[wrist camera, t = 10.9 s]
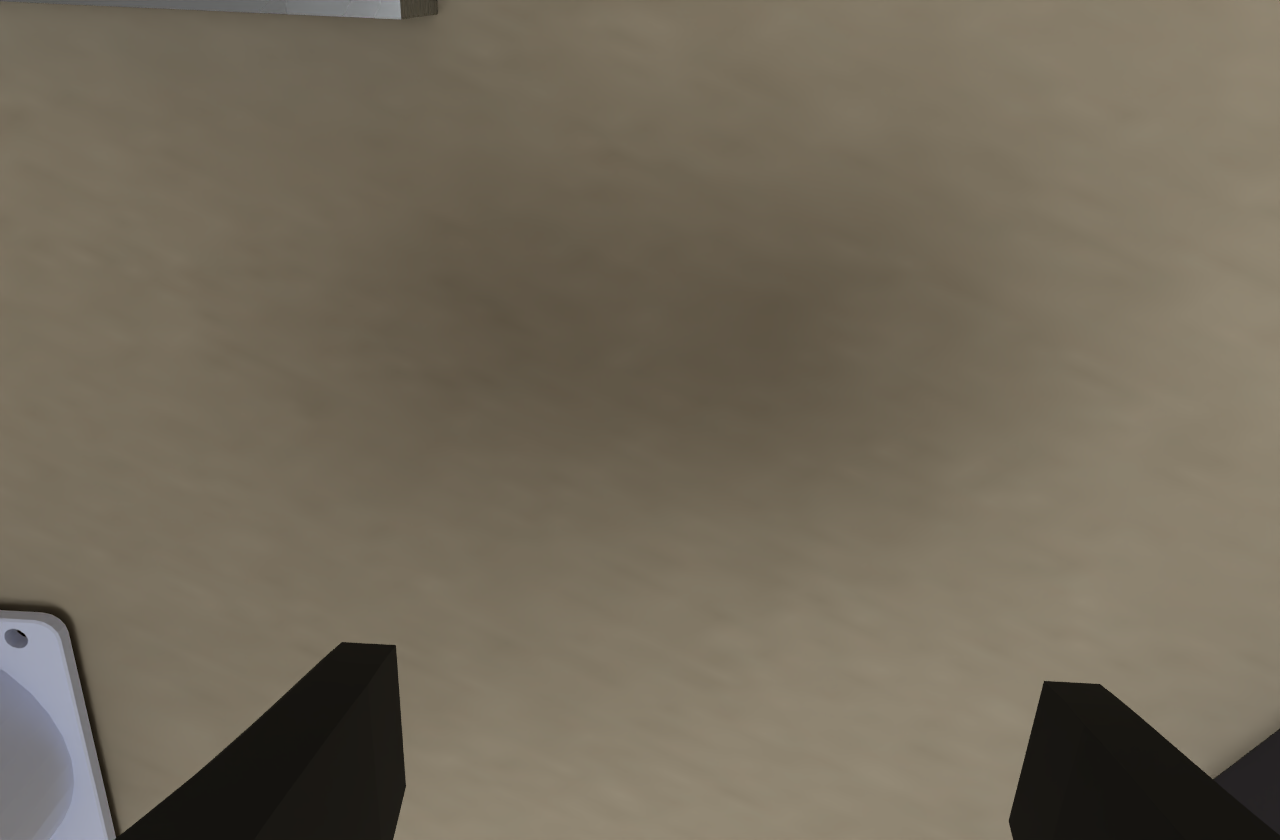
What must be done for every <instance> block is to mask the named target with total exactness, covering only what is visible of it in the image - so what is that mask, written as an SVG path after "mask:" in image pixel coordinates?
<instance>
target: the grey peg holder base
mask: <svg viewBox="0 0 1280 840" xmlns="http://www.w3.org/2000/svg"><path fill="white" fill-rule="evenodd" d="M0 1H8V2H30V3H52V4H74V5H96V6H119V7H141V8H163V9H185V10H207V11H229V12H251V13H273V14H295V15H317V16H339V17H361V18H383V19H407V18H414V17H421V16H428V15H435V14H437V0H0Z"/></svg>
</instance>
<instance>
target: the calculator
mask: <svg viewBox="0 0 1280 840" xmlns="http://www.w3.org/2000/svg"><path fill="white" fill-rule="evenodd" d="M1213 780H1214V781H1215V782H1216V783H1218V784H1219V785H1220V786H1221V787H1222V788H1223V789H1225V790H1226V791H1227V792H1228V793H1229V794H1231V795H1232V796H1233V797H1234V798H1235V799H1237V800H1238V801H1239V802H1240V803H1241V804H1243V805H1244V806H1245V807H1246V808H1247V809H1248V810H1250V811H1251V812H1252V813H1253V814H1254V815H1256V816H1257V817H1258V818H1259V819H1261V820H1262V821H1263V822H1264V823H1265V824H1267V825H1268V826H1269V827H1270V828H1271V829H1273V830H1274V831H1275V832H1276V833H1278V834H1279V835H1280V729H1279V730H1278V731H1276V732H1275V733H1274V734H1272V735H1271V736H1270V737H1268V738H1267V739H1266V740H1264V741H1263V742H1262V743H1260V744H1259V745H1258V746H1257V747H1255V748H1254V749H1253V750H1251V751H1250V752H1249V753H1247V754H1246V755H1245V756H1243V757H1242V758H1241V759H1239V760H1238V761H1237V762H1236V763H1234V764H1233V765H1232V766H1230V767H1229V768H1228V769H1226V770H1225V771H1224V772H1222V773H1221V774H1220V775H1218V776H1217V777H1216V778H1214V779H1213Z"/></svg>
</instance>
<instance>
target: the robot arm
mask: <svg viewBox="0 0 1280 840" xmlns="http://www.w3.org/2000/svg"><path fill="white" fill-rule="evenodd" d="M17 630H20V631H21V632H23V633H24V634H25V635H26V637H24V636H22V635H21V634H19V633H18V632H17ZM405 788H406V781H405V767H404V753H403V739H402V725H401V711H400V697H399V683H398V669H397V655H396V645H383V644H364V643H346V642H342V643H340V644H339V645H338V646H337V647H336V648H335V649H333V650H332V651H331V652H330V653H329V654H328V655H327V656H326V657H325V658H323V659H322V660H321V661H320V662H319V663H318V664H317V665H316V666H315V667H314V668H313V669H311V670H310V671H309V672H308V673H307V674H306V675H305V676H304V677H303V678H302V679H301V680H300V681H299V682H298V683H296V684H295V685H294V686H293V687H292V688H291V689H290V690H289V691H288V692H287V693H286V694H285V695H284V696H283V697H281V698H280V699H279V700H278V701H277V702H276V703H275V704H274V705H273V706H272V707H271V708H270V709H268V710H267V711H266V712H265V713H264V714H263V715H262V716H261V717H260V718H259V719H258V720H257V721H255V722H254V723H253V724H252V725H251V726H250V727H249V728H248V729H246V730H245V731H244V732H243V733H242V734H241V735H240V736H239V737H237V738H236V739H235V740H234V741H233V742H232V743H231V744H230V745H228V746H227V747H226V748H225V749H224V750H223V751H222V752H220V753H219V754H218V755H217V756H216V757H215V758H214V759H213V760H211V761H210V762H209V763H208V764H207V765H206V766H205V767H203V768H202V769H201V770H200V771H199V772H198V773H196V774H195V775H194V776H193V777H192V778H191V779H189V780H188V781H187V782H186V783H184V784H183V785H182V786H181V787H179V788H178V789H177V790H176V791H174V792H173V793H172V794H171V795H170V796H168V797H167V798H166V799H165V800H163V801H162V802H161V803H160V804H158V805H157V806H156V807H155V808H153V809H152V810H151V811H150V812H149V813H147V814H146V815H145V816H144V817H142V818H141V819H140V820H139V821H137V822H136V823H135V824H134V825H132V826H131V827H130V828H129V829H127V830H126V831H125V832H124V833H122V834H121V835H120V836H118V837H117V838H116V836H115V831H114V827H113V823H112V818H111V814H110V810H109V805H108V801H107V797H106V792H105V788H104V784H103V779H102V775H101V771H100V766H99V762H98V758H97V753H96V749H95V745H94V740H93V736H92V732H91V727H90V723H89V719H88V714H87V710H86V706H85V701H84V697H83V693H82V688H81V684H80V680H79V675H78V671H77V667H76V662H75V658H74V654H73V649H72V645H71V641H70V636H69V632H68V630H67V628H66V625H65V624H64V623H63V622H62V621H61V620H60V619H59V618H57V617H55V616H54V615H52V614H47V613H43V612H25V611H7V610H0V840H393V838H394V834H395V829H396V825H397V821H398V817H399V813H400V809H401V804H402V800H403V796H404V792H405ZM1009 824H1010V828H1011V832H1012V836H1013V840H1280V835H1279V834H1278V833H1276V832H1275V831H1274V830H1273V829H1271V828H1270V827H1269V826H1268V825H1267V824H1265V823H1264V822H1263V821H1262V820H1261V819H1259V818H1258V817H1257V816H1256V815H1254V814H1253V813H1252V812H1251V811H1250V810H1248V809H1247V808H1246V807H1245V806H1244V805H1243V804H1241V803H1240V802H1239V801H1238V800H1237V799H1235V798H1234V797H1233V796H1232V795H1231V794H1229V793H1228V792H1227V791H1226V790H1225V789H1223V788H1222V787H1221V786H1220V785H1219V784H1218V783H1216V782H1215V781H1214V780H1213V779H1212V778H1211V777H1209V776H1208V775H1207V774H1206V773H1205V772H1204V771H1202V770H1201V769H1200V768H1199V767H1198V766H1197V765H1195V764H1194V763H1193V762H1192V761H1191V760H1190V759H1188V758H1187V757H1186V756H1185V755H1184V754H1183V753H1181V752H1180V751H1179V750H1178V749H1177V748H1176V747H1175V746H1173V745H1172V744H1171V743H1170V742H1169V741H1168V740H1166V739H1165V738H1164V737H1163V736H1162V735H1161V734H1159V733H1158V732H1157V731H1156V730H1155V729H1154V728H1152V727H1151V726H1150V725H1149V724H1148V723H1147V722H1145V721H1144V720H1143V719H1142V718H1141V717H1140V716H1138V715H1137V714H1136V713H1135V712H1134V711H1133V710H1131V709H1130V708H1129V707H1128V706H1127V705H1125V704H1124V703H1123V702H1122V701H1121V700H1119V699H1118V698H1117V697H1116V696H1114V695H1113V694H1112V693H1111V692H1109V691H1108V690H1107V689H1105V688H1104V687H1103V686H1102V685H1100V684H1088V683H1070V682H1052V681H1044V684H1043V687H1042V691H1041V695H1040V699H1039V703H1038V707H1037V711H1036V715H1035V719H1034V723H1033V727H1032V731H1031V735H1030V739H1029V743H1028V747H1027V751H1026V755H1025V759H1024V762H1023V766H1022V770H1021V774H1020V778H1019V782H1018V786H1017V790H1016V794H1015V798H1014V802H1013V806H1012V810H1011V814H1010V818H1009Z"/></svg>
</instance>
